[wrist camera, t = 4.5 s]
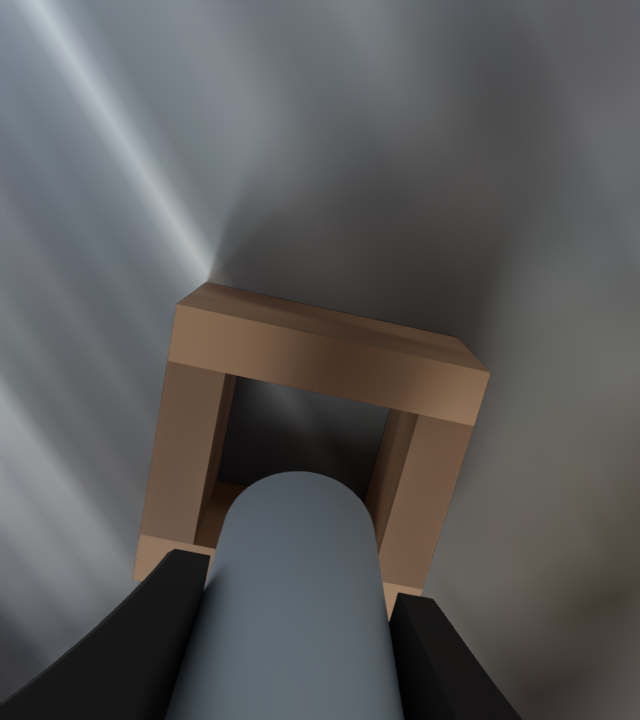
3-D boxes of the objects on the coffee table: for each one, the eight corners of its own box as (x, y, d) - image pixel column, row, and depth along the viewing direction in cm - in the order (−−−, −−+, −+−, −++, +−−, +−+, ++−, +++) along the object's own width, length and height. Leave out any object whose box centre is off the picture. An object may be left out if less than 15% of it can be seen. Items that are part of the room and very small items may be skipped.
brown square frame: (166, 510, 19) (132, 579, 16) (205, 282, 17) (176, 303, 14) (393, 554, 20) (408, 632, 16) (457, 337, 18) (490, 372, 14)
